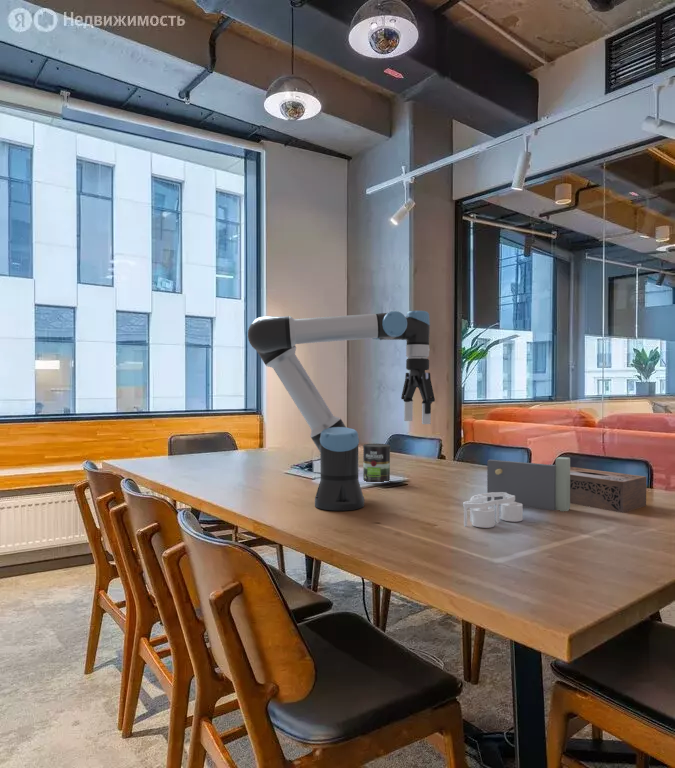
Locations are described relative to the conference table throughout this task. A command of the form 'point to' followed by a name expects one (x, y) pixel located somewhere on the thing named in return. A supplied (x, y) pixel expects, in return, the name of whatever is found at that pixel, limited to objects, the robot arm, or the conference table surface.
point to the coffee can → (376, 462)
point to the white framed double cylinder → (492, 509)
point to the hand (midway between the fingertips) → (416, 422)
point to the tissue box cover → (607, 489)
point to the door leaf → (532, 483)
